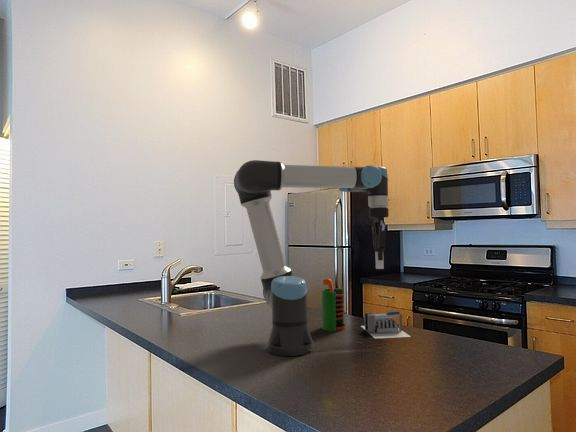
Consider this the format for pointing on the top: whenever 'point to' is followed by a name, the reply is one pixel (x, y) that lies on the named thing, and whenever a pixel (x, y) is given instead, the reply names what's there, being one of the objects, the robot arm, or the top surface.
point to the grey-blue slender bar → (387, 314)
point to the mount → (371, 323)
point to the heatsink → (385, 326)
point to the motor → (332, 307)
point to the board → (393, 335)
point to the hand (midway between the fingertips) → (379, 268)
